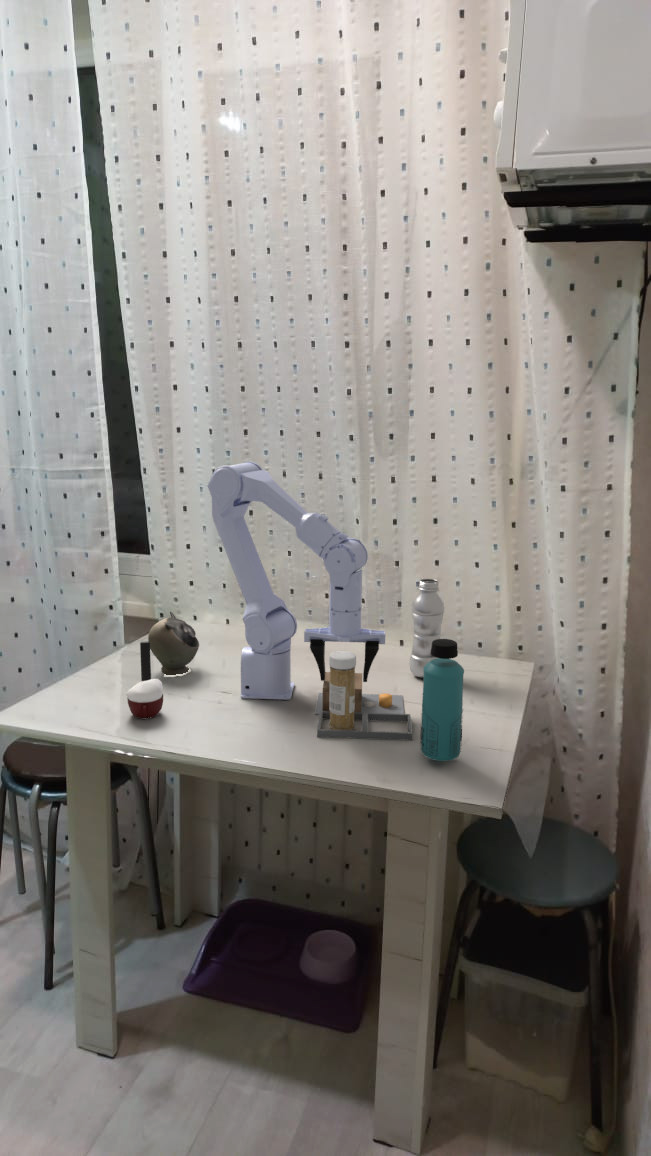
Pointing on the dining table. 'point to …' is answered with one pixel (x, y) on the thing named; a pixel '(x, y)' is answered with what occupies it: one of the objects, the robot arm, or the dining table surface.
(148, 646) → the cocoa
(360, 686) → the cardboard box
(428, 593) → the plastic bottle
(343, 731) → the socket frames
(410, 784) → the dining table surface
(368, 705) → the board
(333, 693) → the spice jar
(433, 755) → the beverage bottle
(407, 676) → the dining table surface
